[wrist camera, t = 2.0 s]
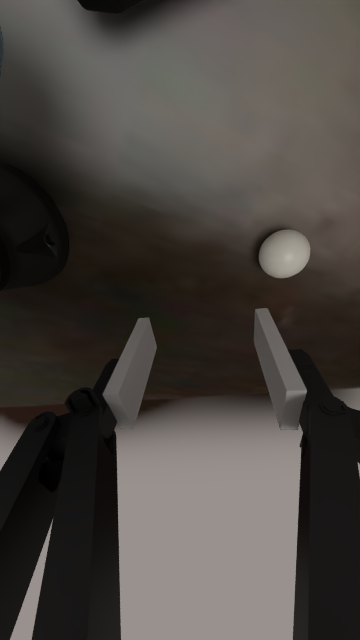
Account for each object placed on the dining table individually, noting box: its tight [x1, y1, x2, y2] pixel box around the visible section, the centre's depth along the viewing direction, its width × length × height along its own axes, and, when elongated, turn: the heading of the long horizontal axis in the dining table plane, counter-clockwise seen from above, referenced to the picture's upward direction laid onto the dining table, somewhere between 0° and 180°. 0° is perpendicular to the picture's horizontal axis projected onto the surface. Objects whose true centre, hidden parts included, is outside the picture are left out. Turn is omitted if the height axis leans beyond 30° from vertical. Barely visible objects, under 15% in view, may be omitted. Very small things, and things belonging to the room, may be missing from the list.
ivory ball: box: [259, 230, 310, 278], centre depth 26 cm, size 6×6×6 cm
